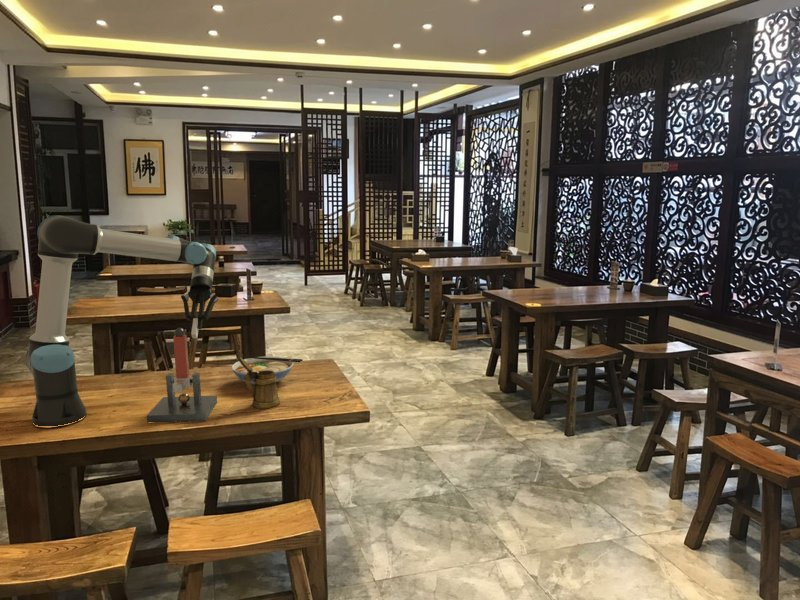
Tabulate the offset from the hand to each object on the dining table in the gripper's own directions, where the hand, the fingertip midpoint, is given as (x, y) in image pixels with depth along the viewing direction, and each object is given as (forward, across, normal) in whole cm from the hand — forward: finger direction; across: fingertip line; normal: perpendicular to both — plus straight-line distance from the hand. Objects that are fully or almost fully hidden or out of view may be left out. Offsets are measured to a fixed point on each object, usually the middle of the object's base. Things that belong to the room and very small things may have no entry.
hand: (194, 336), depth 213 cm
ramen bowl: (+7, -21, -25) cm, 33 cm away
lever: (+20, +1, +1) cm, 21 cm away
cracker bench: (+26, +1, -5) cm, 27 cm away
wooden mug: (+23, -23, -8) cm, 33 cm away
